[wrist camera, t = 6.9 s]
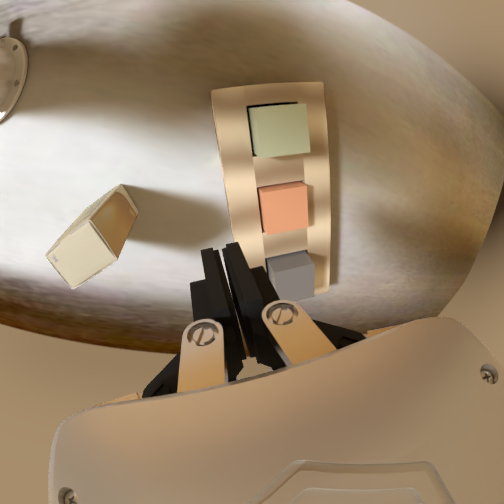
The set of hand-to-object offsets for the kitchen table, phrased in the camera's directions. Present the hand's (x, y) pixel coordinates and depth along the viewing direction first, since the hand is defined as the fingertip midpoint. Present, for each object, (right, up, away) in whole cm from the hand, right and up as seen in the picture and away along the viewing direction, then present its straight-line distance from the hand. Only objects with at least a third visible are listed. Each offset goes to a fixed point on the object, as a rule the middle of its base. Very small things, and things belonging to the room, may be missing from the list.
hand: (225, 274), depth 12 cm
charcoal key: (+6, -1, +24) cm, 25 cm away
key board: (+4, +7, +22) cm, 23 cm away
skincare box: (-16, +6, +18) cm, 25 cm away
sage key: (+4, +14, +15) cm, 21 cm away
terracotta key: (+4, +7, +21) cm, 23 cm away
